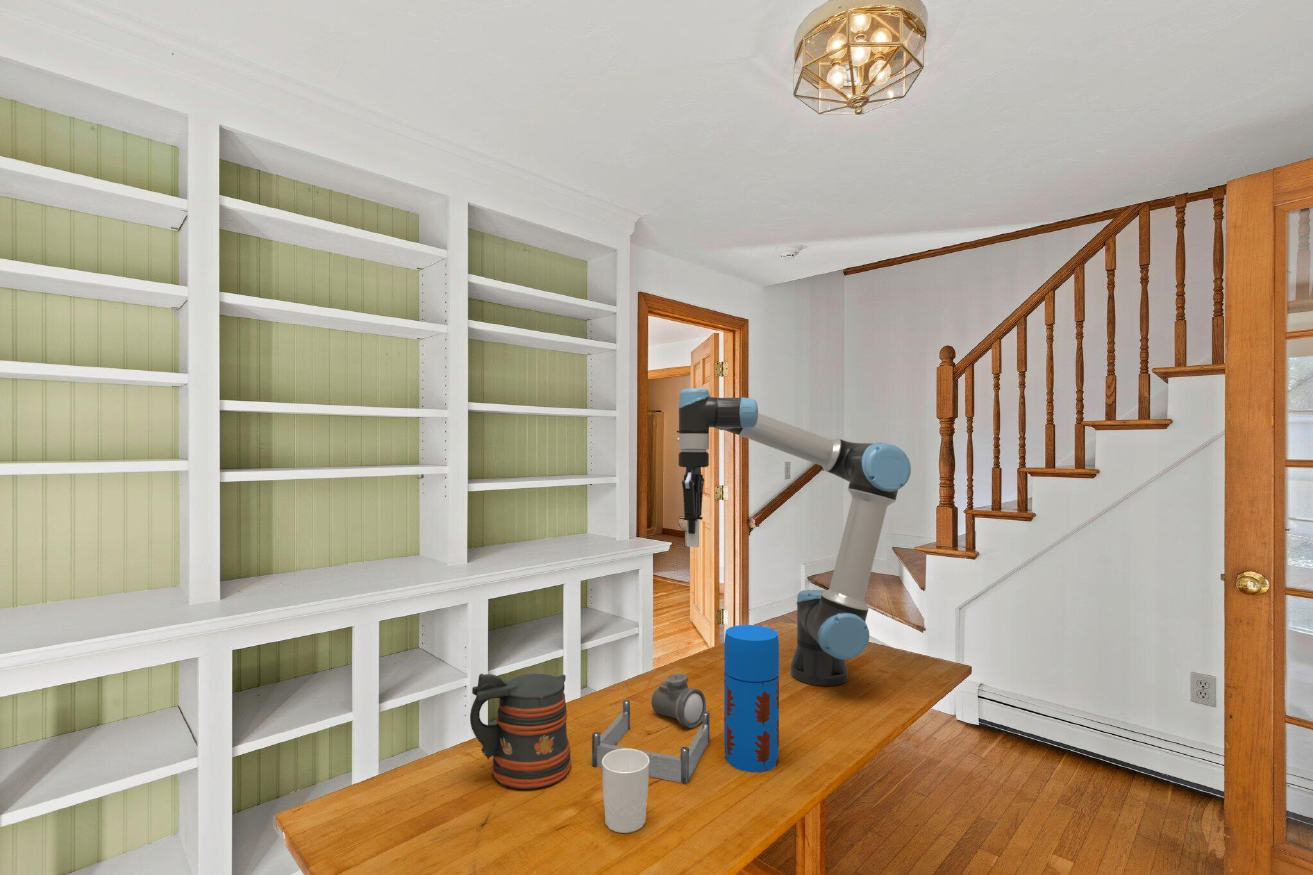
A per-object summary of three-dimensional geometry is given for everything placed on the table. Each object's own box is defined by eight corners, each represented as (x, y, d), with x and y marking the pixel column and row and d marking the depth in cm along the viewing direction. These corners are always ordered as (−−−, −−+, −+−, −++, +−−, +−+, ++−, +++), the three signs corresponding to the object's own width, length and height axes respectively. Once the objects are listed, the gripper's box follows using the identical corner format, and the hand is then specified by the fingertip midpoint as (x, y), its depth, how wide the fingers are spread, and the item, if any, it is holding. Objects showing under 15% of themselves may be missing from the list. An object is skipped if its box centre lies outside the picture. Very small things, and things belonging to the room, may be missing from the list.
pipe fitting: (710, 720, 137) (704, 674, 137) (686, 734, 131) (679, 687, 132) (673, 709, 145) (667, 666, 146) (648, 722, 140) (642, 678, 140)
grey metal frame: (624, 726, 134) (624, 699, 134) (710, 740, 128) (710, 712, 128) (590, 765, 118) (590, 734, 118) (687, 784, 111) (687, 751, 111)
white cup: (601, 807, 104) (602, 749, 104) (647, 805, 105) (647, 747, 105) (601, 837, 96) (601, 773, 96) (650, 834, 97) (651, 771, 97)
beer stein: (485, 809, 103) (486, 691, 104) (459, 771, 115) (460, 665, 116) (584, 775, 114) (584, 669, 114) (551, 744, 126) (551, 647, 127)
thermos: (782, 750, 124) (782, 627, 125) (774, 776, 114) (775, 643, 114) (730, 741, 128) (730, 622, 128) (718, 766, 118) (718, 637, 118)
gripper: (686, 450, 158) (685, 541, 157) (671, 451, 145) (670, 549, 145) (714, 451, 155) (713, 543, 155) (702, 451, 143) (701, 551, 142)
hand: (692, 546), depth 150 cm, fingers closed
